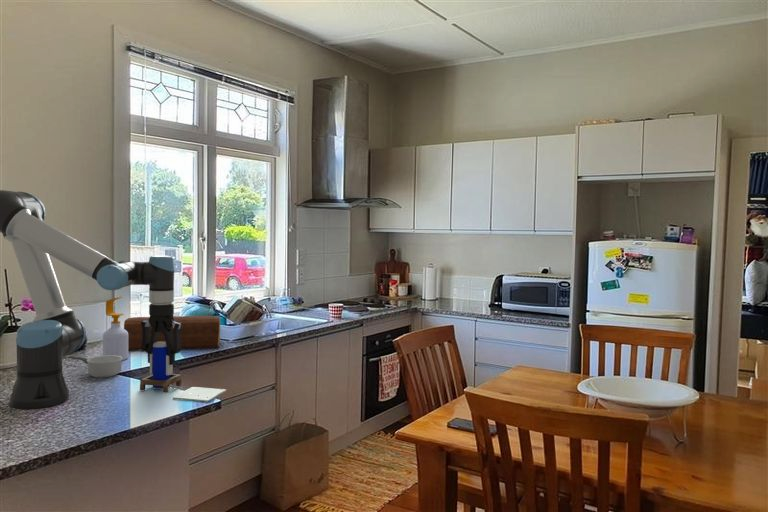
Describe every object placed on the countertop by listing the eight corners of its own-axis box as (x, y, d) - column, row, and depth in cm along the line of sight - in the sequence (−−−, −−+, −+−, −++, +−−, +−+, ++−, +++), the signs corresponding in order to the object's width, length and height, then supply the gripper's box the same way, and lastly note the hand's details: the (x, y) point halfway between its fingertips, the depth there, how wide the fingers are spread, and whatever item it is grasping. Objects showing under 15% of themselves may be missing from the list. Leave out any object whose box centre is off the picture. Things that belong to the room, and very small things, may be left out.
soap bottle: (118, 362, 219) (118, 298, 218) (97, 360, 221) (97, 297, 220) (133, 357, 228) (133, 296, 227) (113, 355, 230) (113, 295, 229)
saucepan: (81, 367, 211) (81, 352, 210) (129, 371, 207) (129, 356, 206) (57, 375, 199) (57, 359, 199) (107, 380, 195) (107, 364, 195)
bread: (219, 348, 249) (219, 318, 248) (122, 351, 239) (122, 319, 238) (220, 341, 263) (220, 312, 263) (129, 344, 254) (129, 314, 253)
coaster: (208, 402, 173) (208, 400, 173) (172, 399, 176) (172, 397, 176) (226, 391, 185) (226, 389, 185) (192, 388, 187) (192, 386, 187)
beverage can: (164, 384, 191) (164, 340, 190) (172, 387, 188) (172, 342, 187) (149, 387, 187) (149, 342, 186) (157, 391, 184) (158, 344, 183)
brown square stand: (166, 392, 182) (166, 381, 182) (139, 390, 183) (140, 379, 183) (181, 385, 191) (181, 374, 191) (156, 383, 193) (156, 372, 192)
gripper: (193, 303, 188) (192, 372, 189) (143, 300, 191) (143, 368, 192) (180, 306, 180) (180, 378, 182) (129, 303, 184) (129, 374, 185)
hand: (161, 373), depth 187 cm, fingers closed on beverage can, 5 cm apart
